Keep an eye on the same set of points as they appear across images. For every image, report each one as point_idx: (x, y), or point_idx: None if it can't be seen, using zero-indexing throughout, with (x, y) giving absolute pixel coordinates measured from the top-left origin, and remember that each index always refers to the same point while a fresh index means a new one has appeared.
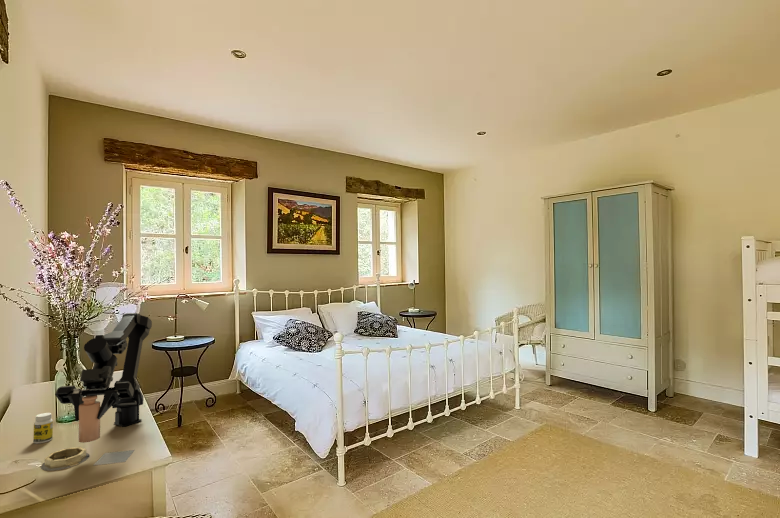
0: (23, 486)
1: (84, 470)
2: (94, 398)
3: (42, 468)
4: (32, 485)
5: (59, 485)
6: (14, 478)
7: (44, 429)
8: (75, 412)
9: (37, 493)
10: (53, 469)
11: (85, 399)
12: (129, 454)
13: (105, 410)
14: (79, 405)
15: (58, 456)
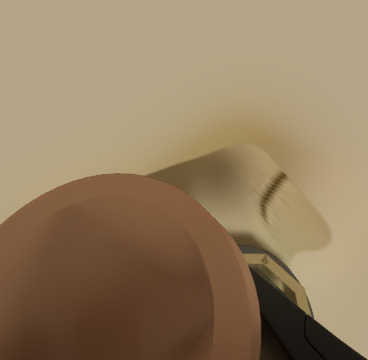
0: (268, 189)
1: None
2: (14, 226)
3: (285, 268)
4: (250, 189)
5: (192, 173)
6: (326, 239)
7: None
8: (262, 281)
9: (218, 154)
10: (247, 250)
11: (144, 176)
12: None
13: None
14: (244, 272)
15: None
